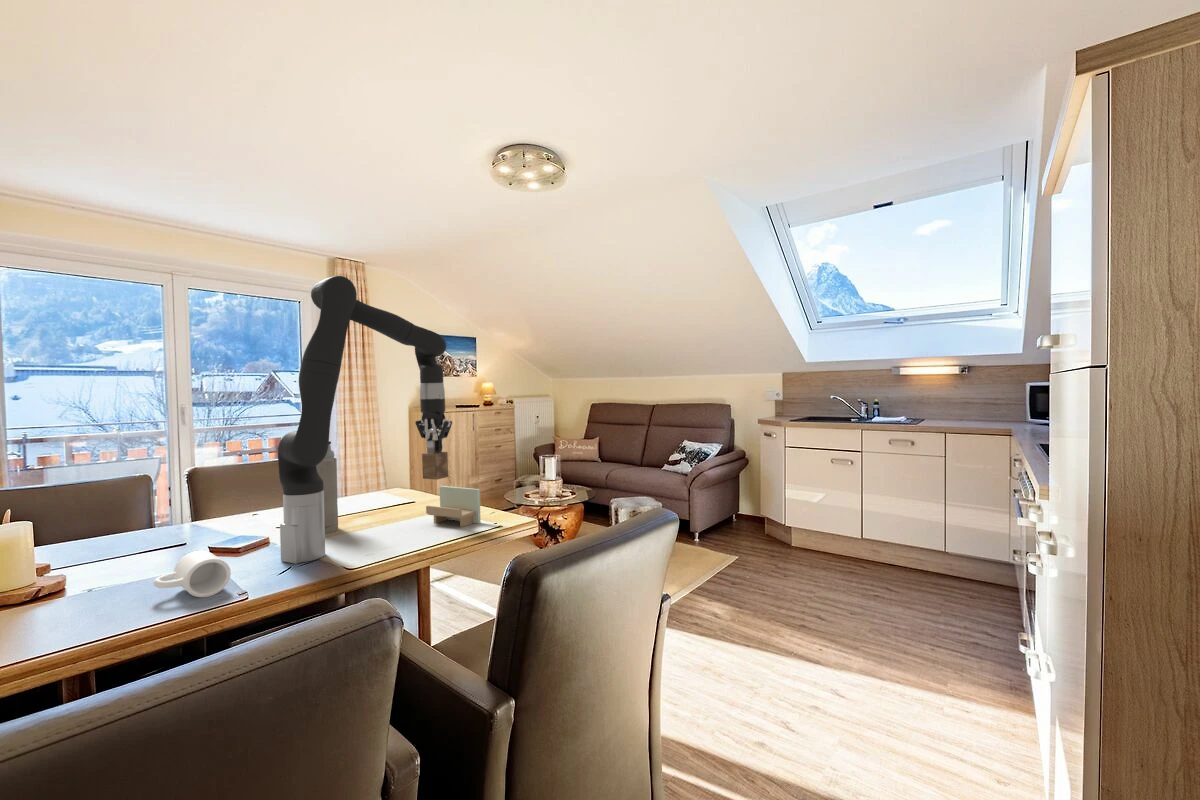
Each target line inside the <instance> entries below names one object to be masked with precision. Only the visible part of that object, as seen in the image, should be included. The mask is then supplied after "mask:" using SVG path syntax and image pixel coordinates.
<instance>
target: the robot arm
mask: <svg viewBox="0 0 1200 800" xmlns="http://www.w3.org/2000/svg"><path fill="white" fill-rule="evenodd" d="M357 294H358V293H357V290H356V286H355V285H354V283H353V281H351V280H350V279H349V278H348V277H346V276H342V275H333V276H330V277H327V278H325V279H322V280H320V281H318V282H316V283H315V284H314V285H313V287H312V289H311V291H310V297H311V300H312V302H313V304H314V305H315V306H316V308H317V309H319V310H320V311H319V312H320V313H319V318H318V322H317V325H316V328H315V330H314V332H313V334H312V335H311V337H310V339H309V340H308V343H307V345H306V348H305V350H304V352H303V356H302V360H301V364H300V369H299V372H298V373H299V374H298V388H299V389H298V391H299V395H300V402H301V414H300V419H299V423H298V427H297V429H296V430H292V431H290V432H287V433H286V434H284V436H282V438H281V439H280V441H279V444H278V448H277V465H278V477H279V482H280V484H281V488H282V500H283V501H282V503H283V523H280V525H279V535H280V562H285V563H291V564H295V565H296V564H297V565H298V564H300V563H307V562H310V561H316V560H318V559H321V558H323V557H324V556H325V555H326V538H325V537H326V533H325V525H324V484H323V480H322V479H321V477H320V476H319V474H318V472H317V468H316V465H318V464H319V463H321V462H322V461H323V459H324V458H325V456H326V454H327V451H328V445H329V441H330V433H331V432H330V430H331V420H332V419H331V417H332V412H333V406H334V404H335V403H334V402H335V396H336V391H337V387H338V382H339V379H340V373H341V368H342V361H343V355H344V350H345V344H346V339H347V332H348V328H349V324H350V321H352V322H355V323H357V324H359V325H362V326H364V327H366V328H369V329H371V330H373V331H375V332H378V333H380V334H382V335H384V336H386V337H388V338H389V339H392V340H393V341H394V342H395V341H396V342H397V343H399V344H400V345H401V344H402V345H404V346H411V347H414V354H415V358H416V362H417V365H418V368H419V381H420V382H419V383H420V385H419V387H420V388H419V401H420V402H419V403H420V405H419V406H420V413H422V416H421V419H419V420H416V421H415V423H414V424H415V426H416V428H417V430H418V433H419V436H420V438H422V439H425V440H426V442H427V441H430V440H436V441H435V452H441V450H442V451H443V440H444V439H447V438H448V436H449V433H450V431H451V427H452V425H453V421H452V420H448V419H447V418H446V415H445V412H446V394H445V393H446V391H445V386H444V370H443V369H444V368H443V367H442V366H441V365H440V364H438V362H437V358H436V357H438V356H442V355H443V354H444V353H445V351H446V350H447V342H446V340H445V338H444V337H443V336H442V335H440V334H439V333H437V332H435V331H433V330H430V329H427V328H424V327H421V326H418V325H416V324H414V323H413V322H411V321H408V320H407V319H405V318H403V317H402V316H400V315H397V314H395V313H392V312H389V311H387V310H385V309H384V310H383V309H381V308H378V307H374V306H371V305H370V304H367V303H364V302H363V301H361V300H359V299H357V297H358V296H357Z"/></svg>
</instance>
